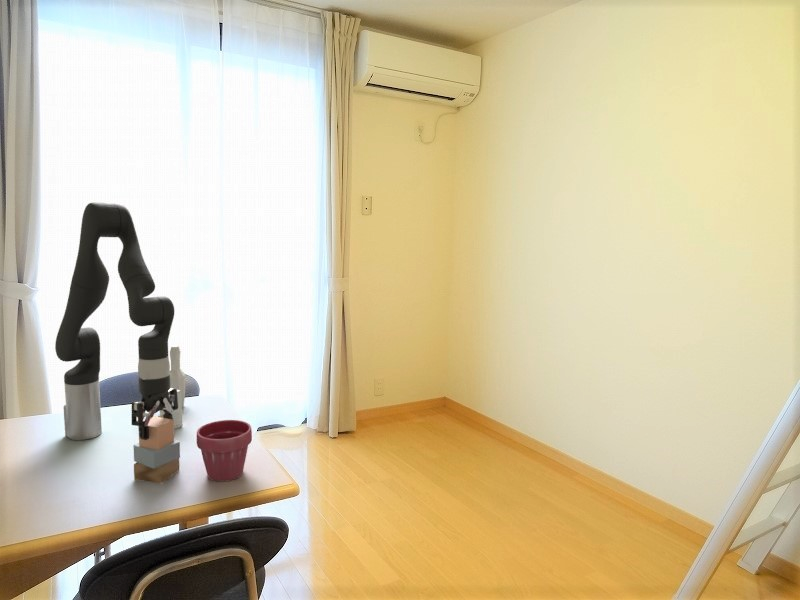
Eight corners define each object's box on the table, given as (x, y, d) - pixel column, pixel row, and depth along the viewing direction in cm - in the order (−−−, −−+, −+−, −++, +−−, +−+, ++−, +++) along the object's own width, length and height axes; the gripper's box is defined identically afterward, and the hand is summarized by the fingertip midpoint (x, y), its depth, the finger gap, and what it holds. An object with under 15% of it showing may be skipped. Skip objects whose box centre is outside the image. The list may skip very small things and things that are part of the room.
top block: (134, 461, 150) (133, 445, 149) (160, 450, 157) (159, 435, 156) (154, 468, 146) (153, 452, 146) (180, 457, 153) (179, 441, 152)
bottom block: (134, 480, 149) (133, 464, 148) (152, 467, 157) (152, 451, 156) (162, 484, 148) (161, 467, 147) (179, 470, 155) (179, 454, 155)
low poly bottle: (163, 408, 201) (161, 347, 197) (173, 402, 207) (171, 343, 203) (180, 410, 200) (178, 349, 196) (189, 404, 206) (188, 344, 202)
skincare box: (183, 426, 186) (182, 390, 184) (171, 430, 182) (170, 394, 180) (171, 421, 189) (170, 387, 187) (159, 425, 185) (158, 390, 184)
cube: (139, 446, 149) (138, 424, 148) (155, 437, 155) (154, 416, 154) (158, 449, 147) (157, 427, 146) (174, 441, 153) (173, 419, 152)
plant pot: (195, 466, 157) (194, 422, 155) (247, 459, 163) (246, 416, 161) (200, 490, 145) (198, 442, 142) (256, 481, 150) (256, 435, 148)
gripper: (161, 365, 156) (163, 422, 158) (121, 379, 142) (124, 441, 145) (184, 368, 153) (186, 426, 156) (145, 383, 140) (148, 445, 143)
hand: (156, 433), depth 150 cm, fingers open, 8 cm apart
